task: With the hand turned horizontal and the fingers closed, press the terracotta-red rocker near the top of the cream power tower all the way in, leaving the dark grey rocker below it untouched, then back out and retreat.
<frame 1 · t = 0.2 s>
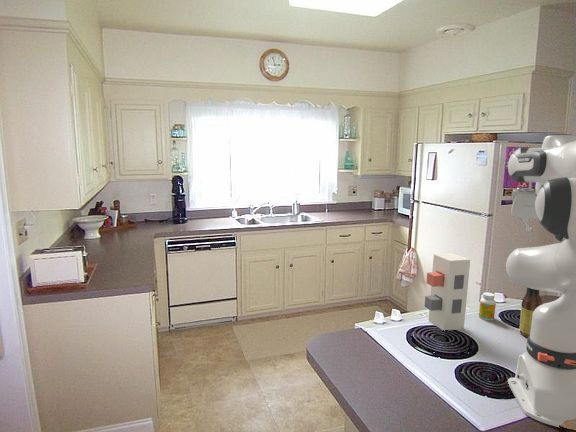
hand: (546, 233, 119), 39 cm above the countertop, tool pointing down, fingers open, 8 cm apart
grey rocker: (434, 302, 142), point 9 cm above the countertop, slide at 0.0 cm
red rocker: (436, 279, 140), point 18 cm above the countertop, slide at 0.0 cm
power tower: (435, 325, 143), on the countertop
supplement bottle: (486, 318, 151), on the countertop
sauce bottle: (528, 335, 137), on the countertop
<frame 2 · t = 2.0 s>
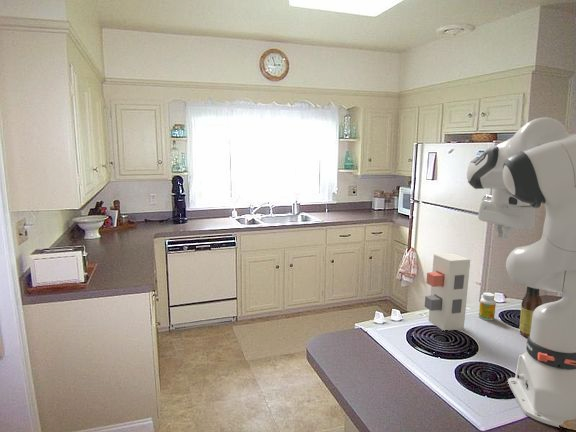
hand: (502, 238, 130), 35 cm above the countertop, tool pointing down, fingers closed
nothing on the countertop moved.
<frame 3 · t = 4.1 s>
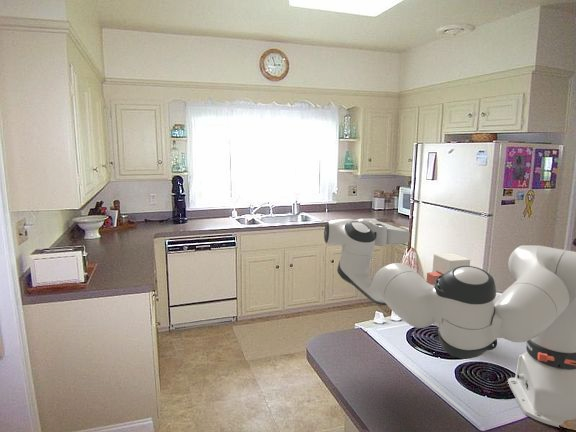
hand: (406, 231, 134), 36 cm above the countertop, tool horizontal, fingers closed
nothing on the countertop moved.
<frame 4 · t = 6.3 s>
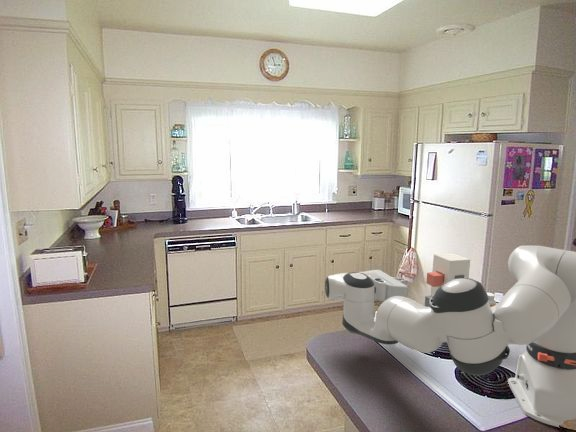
hand: (405, 281, 137), 18 cm above the countertop, tool horizontal, fingers closed
nothing on the countertop moved.
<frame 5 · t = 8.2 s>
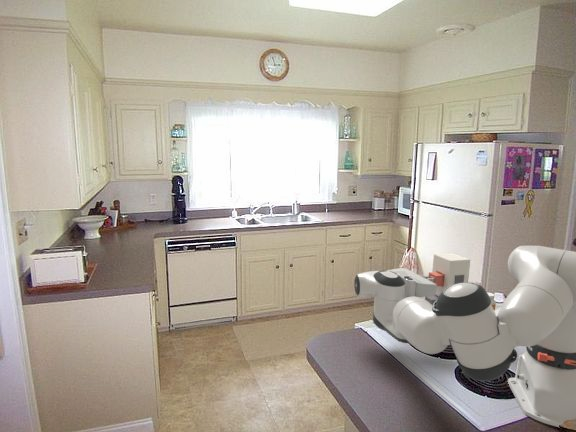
hand: (431, 279, 140), 18 cm above the countertop, tool horizontal, fingers closed, pressing on red rocker
red rocker: (437, 279, 140), point 18 cm above the countertop, slide at 0.7 cm, touching gripper
everything else where it was.
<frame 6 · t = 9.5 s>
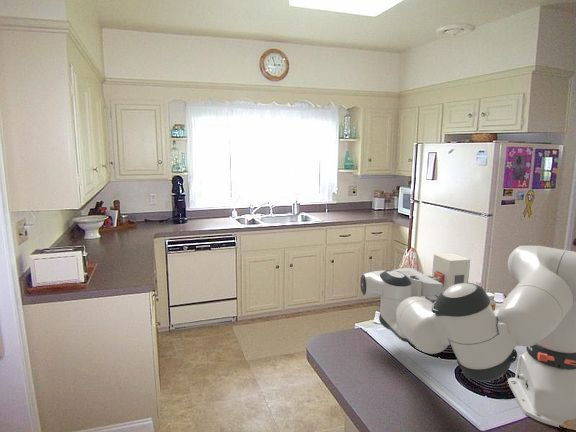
hand: (437, 279, 140), 18 cm above the countertop, tool horizontal, fingers closed
red rocker: (443, 278, 141), point 18 cm above the countertop, slide at 3.0 cm
everything else where it was.
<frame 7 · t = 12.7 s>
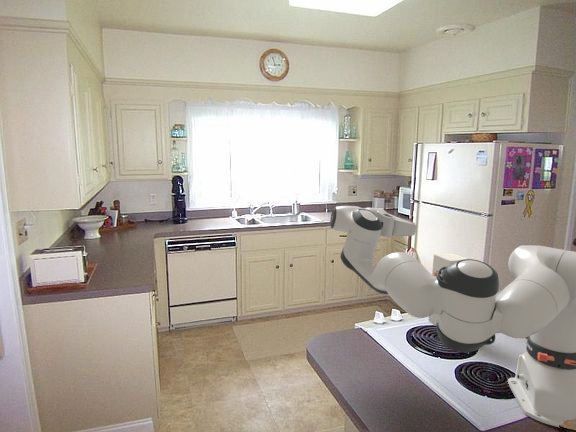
hand: (412, 224, 133), 39 cm above the countertop, tool horizontal, fingers closed
nothing on the countertop moved.
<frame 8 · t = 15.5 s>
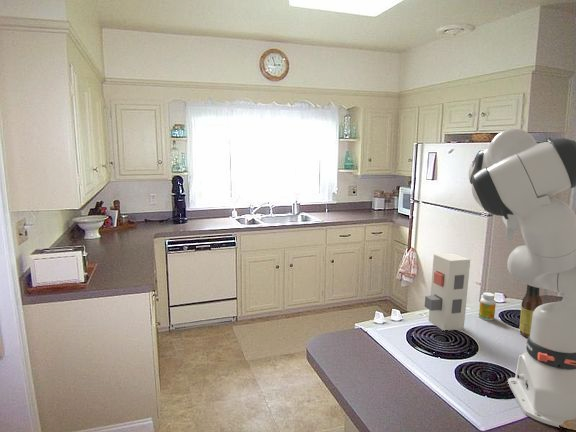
hand: (508, 239, 129), 35 cm above the countertop, tool pointing down, fingers closed
nothing on the countertop moved.
at the end: red rocker slide at 3.0 cm; grey rocker slide at 0.0 cm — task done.
